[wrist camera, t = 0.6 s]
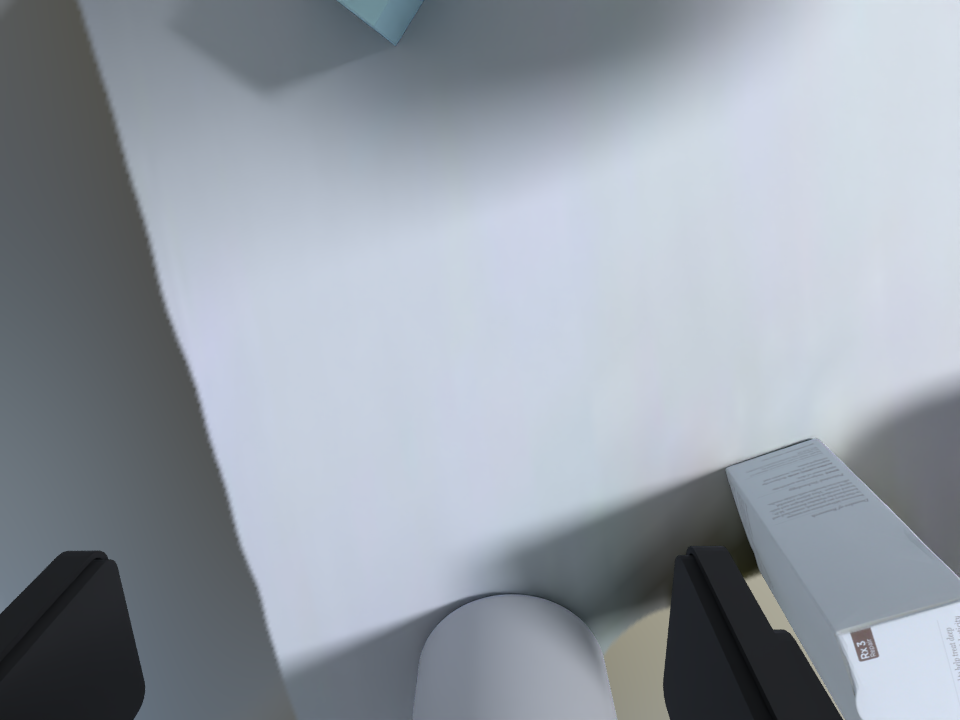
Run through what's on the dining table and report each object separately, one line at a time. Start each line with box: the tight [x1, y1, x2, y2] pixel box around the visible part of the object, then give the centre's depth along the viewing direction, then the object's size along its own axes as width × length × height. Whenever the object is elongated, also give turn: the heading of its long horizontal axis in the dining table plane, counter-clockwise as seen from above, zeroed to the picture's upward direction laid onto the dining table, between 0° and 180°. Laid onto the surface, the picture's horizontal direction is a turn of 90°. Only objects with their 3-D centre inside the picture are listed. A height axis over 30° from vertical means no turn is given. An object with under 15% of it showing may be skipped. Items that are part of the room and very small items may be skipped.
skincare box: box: [726, 438, 960, 720], centre depth 34 cm, size 8×6×15 cm
